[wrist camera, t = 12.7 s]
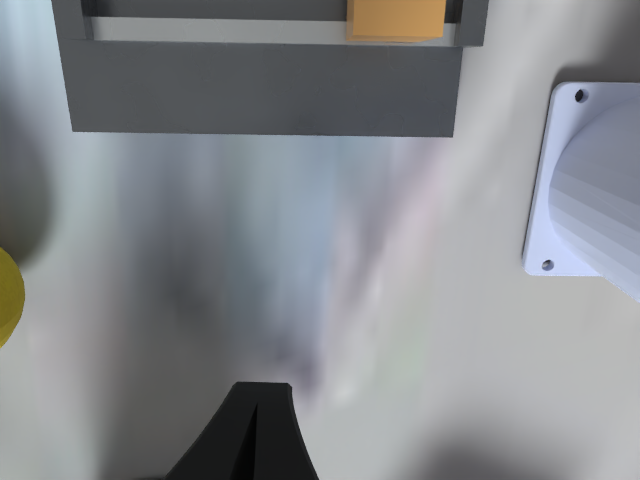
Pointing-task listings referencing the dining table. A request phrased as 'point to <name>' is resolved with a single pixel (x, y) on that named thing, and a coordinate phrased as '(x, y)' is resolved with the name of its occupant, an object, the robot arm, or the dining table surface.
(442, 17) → the block
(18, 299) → the lemon
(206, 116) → the console
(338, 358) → the dining table surface
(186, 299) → the dining table surface
